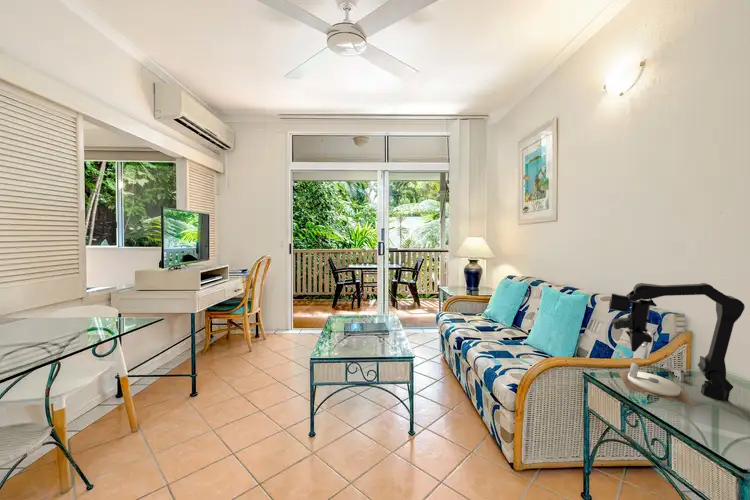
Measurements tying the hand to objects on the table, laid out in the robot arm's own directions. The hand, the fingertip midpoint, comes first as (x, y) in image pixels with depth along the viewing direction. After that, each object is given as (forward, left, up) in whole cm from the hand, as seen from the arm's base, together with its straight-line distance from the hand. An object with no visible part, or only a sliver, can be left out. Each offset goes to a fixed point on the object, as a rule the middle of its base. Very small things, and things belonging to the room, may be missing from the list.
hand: (633, 351), depth 138 cm
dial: (-6, +5, -10) cm, 14 cm away
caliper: (-18, -16, -12) cm, 27 cm away
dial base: (-6, +5, -12) cm, 15 cm away
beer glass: (-8, -22, -12) cm, 26 cm away
